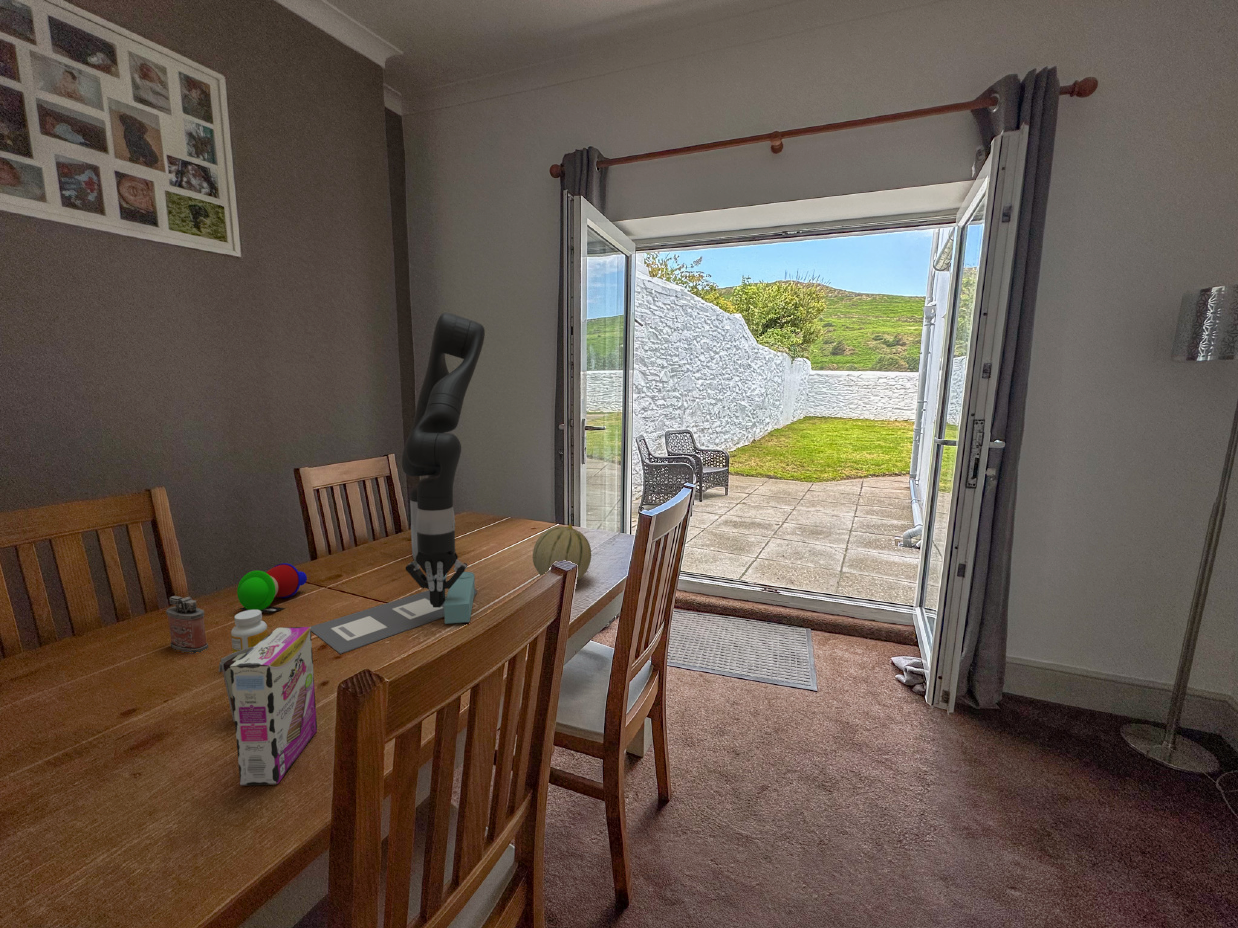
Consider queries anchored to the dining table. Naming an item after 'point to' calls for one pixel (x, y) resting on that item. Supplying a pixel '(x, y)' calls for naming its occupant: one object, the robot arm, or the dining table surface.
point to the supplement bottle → (248, 630)
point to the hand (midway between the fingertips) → (437, 605)
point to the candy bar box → (273, 704)
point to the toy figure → (269, 587)
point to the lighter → (186, 625)
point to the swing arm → (460, 599)
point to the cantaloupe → (562, 549)
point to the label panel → (378, 622)
